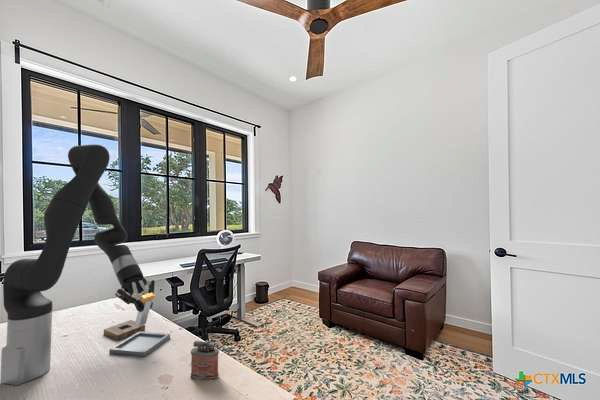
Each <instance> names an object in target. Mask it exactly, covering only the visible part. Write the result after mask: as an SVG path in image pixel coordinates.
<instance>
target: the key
mask: <svg viewBox="0 0 600 400" xmlns="http://www.w3.org/2000/svg"><path fill="white" fill-rule="evenodd" d="M155 297H156V295H155V292H154V293H153V292H152V293H148V294H145V295H142V296H140V297H139V300H141V303H142V305H143V307H144V310H143V311H142V312H139V311H137V315H136V318H135V323H136V324H137V325H138V326H142V325H146V323H147V321H148V316H149V315H150V314H149V313H150V310H151V309H150V306H151V303H152V302H153V300H155Z"/></svg>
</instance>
